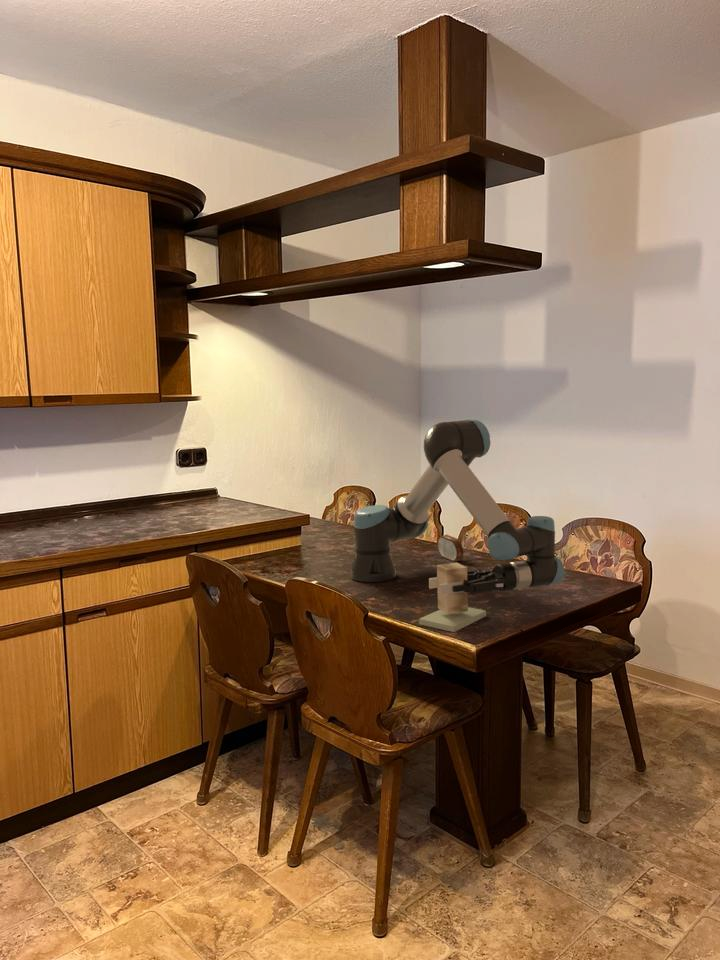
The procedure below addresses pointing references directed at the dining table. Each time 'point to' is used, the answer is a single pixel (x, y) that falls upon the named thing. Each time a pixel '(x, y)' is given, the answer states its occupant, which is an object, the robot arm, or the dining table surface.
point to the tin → (450, 548)
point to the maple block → (455, 600)
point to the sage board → (452, 619)
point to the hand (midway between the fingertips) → (434, 586)
